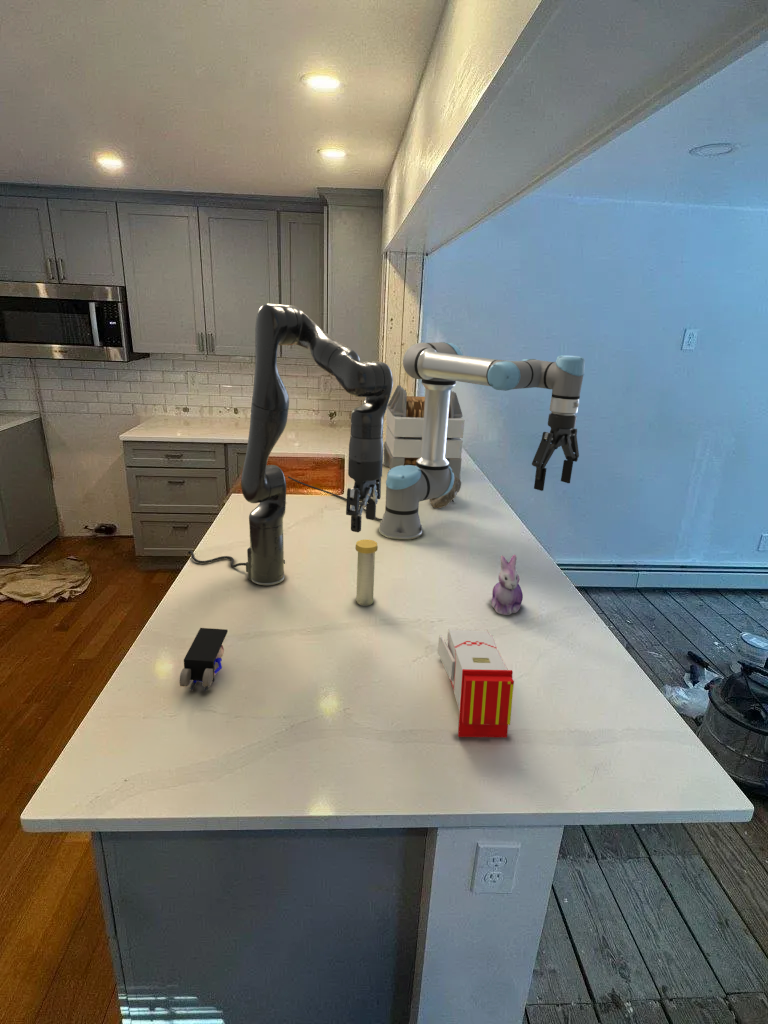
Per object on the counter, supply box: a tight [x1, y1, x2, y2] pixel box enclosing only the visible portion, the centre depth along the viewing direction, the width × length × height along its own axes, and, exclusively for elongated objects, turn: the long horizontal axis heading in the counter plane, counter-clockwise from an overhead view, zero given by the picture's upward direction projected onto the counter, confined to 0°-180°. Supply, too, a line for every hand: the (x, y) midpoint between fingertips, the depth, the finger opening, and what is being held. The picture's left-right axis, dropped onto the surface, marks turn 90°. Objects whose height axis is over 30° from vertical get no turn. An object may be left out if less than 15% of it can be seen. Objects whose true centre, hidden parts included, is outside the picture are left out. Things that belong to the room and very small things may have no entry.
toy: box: [437, 628, 515, 738], centre depth 117 cm, size 12×13×30 cm
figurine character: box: [178, 627, 228, 692], centre depth 119 cm, size 7×8×15 cm
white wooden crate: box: [383, 384, 465, 480], centre depth 268 cm, size 34×33×41 cm
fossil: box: [429, 477, 462, 509], centre depth 234 cm, size 22×10×15 cm
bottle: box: [355, 551, 376, 607], centre depth 150 cm, size 4×4×17 cm
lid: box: [355, 539, 379, 554], centre depth 147 cm, size 6×6×2 cm
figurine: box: [491, 554, 524, 616], centre depth 150 cm, size 9×10×15 cm
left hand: (363, 525), depth 129 cm, fingers open, 8 cm apart
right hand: (552, 485), depth 166 cm, fingers open, 13 cm apart
